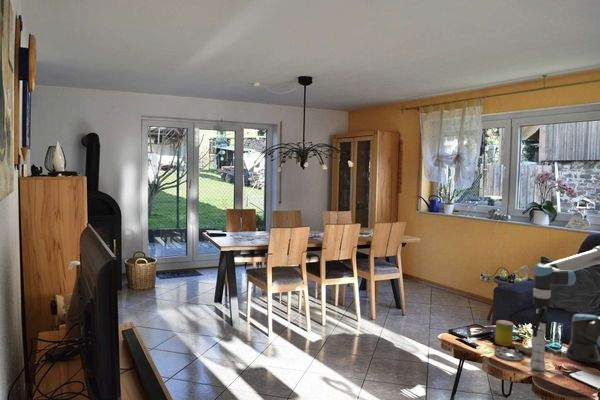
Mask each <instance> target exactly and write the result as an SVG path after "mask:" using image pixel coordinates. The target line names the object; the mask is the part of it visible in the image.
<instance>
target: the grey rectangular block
mask: <svg viewBox="0 0 600 400" xmlns="http://www.w3.org/2000/svg"><path fill="white" fill-rule="evenodd" d="M514 351H519V352H520V353H521V354H522V355H526V356H531V357H532V346H529V345H528V346H527V345H524V344H519V343H515V346H514Z"/></svg>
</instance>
